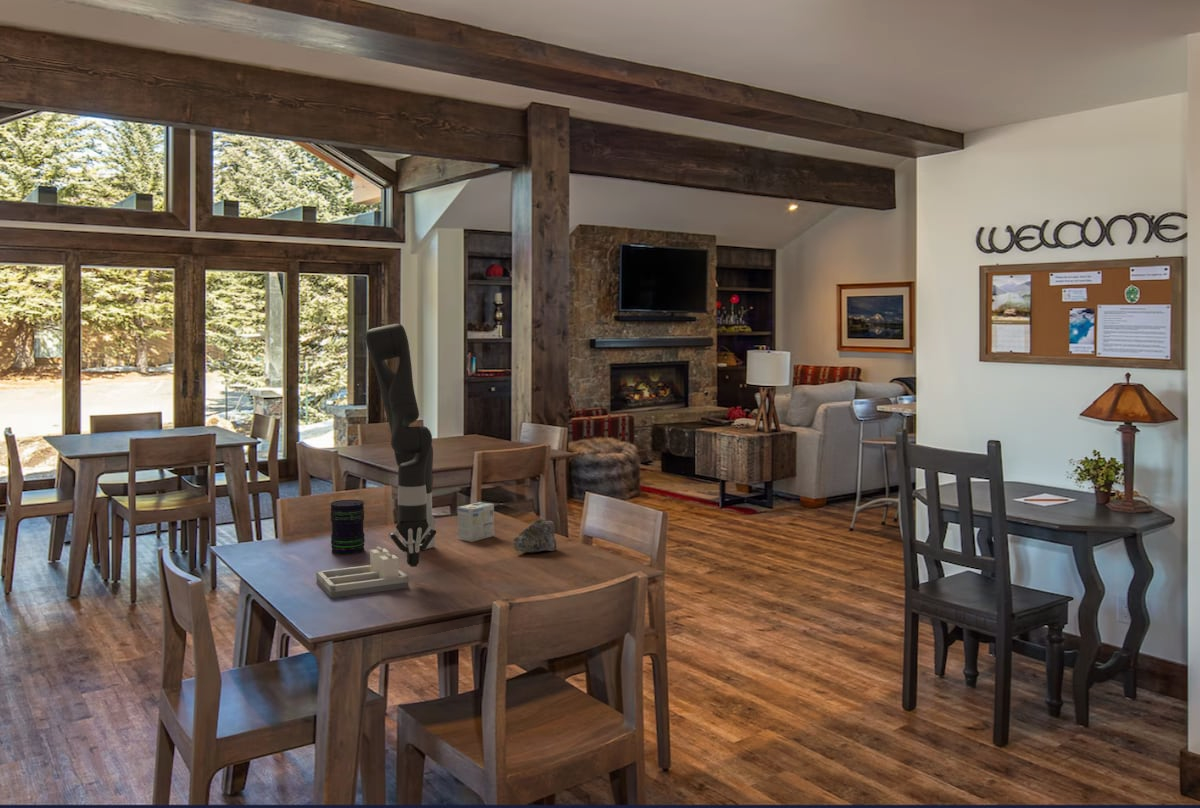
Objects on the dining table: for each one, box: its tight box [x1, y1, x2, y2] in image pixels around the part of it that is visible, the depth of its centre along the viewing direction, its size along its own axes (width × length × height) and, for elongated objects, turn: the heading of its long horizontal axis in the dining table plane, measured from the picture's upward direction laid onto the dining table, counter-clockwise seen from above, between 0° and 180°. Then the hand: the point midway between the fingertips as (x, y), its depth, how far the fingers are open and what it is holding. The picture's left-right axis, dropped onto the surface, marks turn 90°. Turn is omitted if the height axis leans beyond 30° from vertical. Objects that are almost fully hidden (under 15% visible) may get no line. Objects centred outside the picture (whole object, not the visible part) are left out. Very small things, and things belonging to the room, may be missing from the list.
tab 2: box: [379, 552, 400, 579], centre depth 243 cm, size 4×4×7 cm
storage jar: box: [330, 499, 366, 556], centre depth 280 cm, size 10×10×15 cm
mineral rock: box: [513, 518, 557, 553], centre depth 282 cm, size 13×11×10 cm
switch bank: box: [316, 564, 409, 599], centre depth 244 cm, size 20×16×3 cm
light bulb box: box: [457, 501, 495, 543], centre depth 299 cm, size 11×7×11 cm, turn 144°
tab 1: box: [369, 546, 390, 572], centre depth 250 cm, size 4×4×7 cm
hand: (412, 566), depth 247 cm, fingers closed
